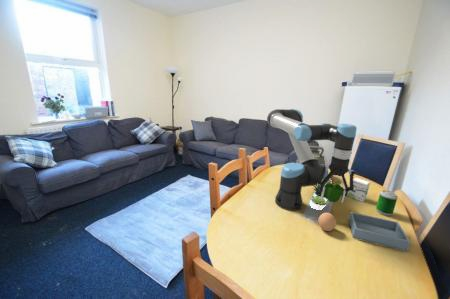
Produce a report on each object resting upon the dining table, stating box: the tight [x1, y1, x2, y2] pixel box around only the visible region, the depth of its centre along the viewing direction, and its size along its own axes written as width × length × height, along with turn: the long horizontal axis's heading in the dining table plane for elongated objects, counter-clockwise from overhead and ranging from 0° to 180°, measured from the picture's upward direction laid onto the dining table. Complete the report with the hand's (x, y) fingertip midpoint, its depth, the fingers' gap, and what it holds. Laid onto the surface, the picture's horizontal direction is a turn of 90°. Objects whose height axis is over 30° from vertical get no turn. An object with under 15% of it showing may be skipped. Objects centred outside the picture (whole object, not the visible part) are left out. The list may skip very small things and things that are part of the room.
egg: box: [317, 212, 337, 232], centre depth 97 cm, size 7×7×8 cm
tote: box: [348, 211, 411, 252], centre depth 95 cm, size 20×15×5 cm
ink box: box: [347, 177, 371, 203], centre depth 126 cm, size 9×5×12 cm, turn 39°
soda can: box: [375, 189, 398, 217], centre depth 112 cm, size 8×8×12 cm
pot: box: [295, 145, 326, 166], centre depth 158 cm, size 21×21×25 cm
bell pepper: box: [324, 181, 345, 203], centre depth 103 cm, size 8×8×10 cm
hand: (331, 199), depth 105 cm, fingers closed on bell pepper, 8 cm apart
